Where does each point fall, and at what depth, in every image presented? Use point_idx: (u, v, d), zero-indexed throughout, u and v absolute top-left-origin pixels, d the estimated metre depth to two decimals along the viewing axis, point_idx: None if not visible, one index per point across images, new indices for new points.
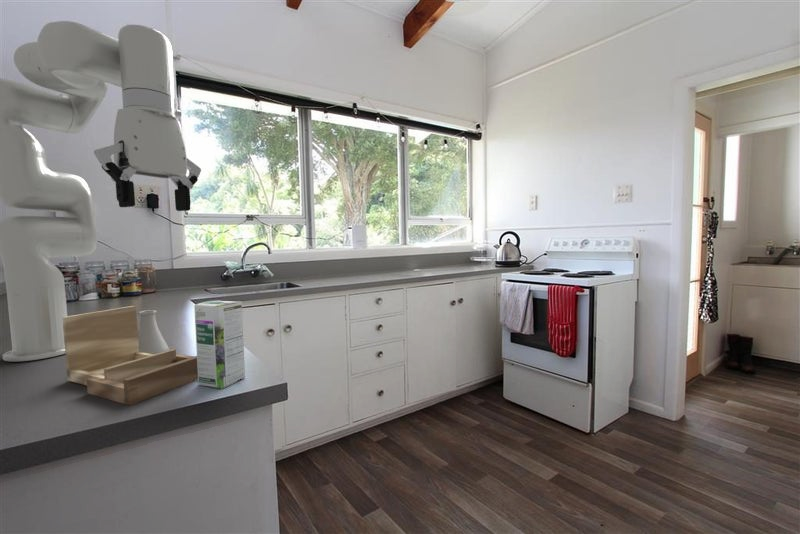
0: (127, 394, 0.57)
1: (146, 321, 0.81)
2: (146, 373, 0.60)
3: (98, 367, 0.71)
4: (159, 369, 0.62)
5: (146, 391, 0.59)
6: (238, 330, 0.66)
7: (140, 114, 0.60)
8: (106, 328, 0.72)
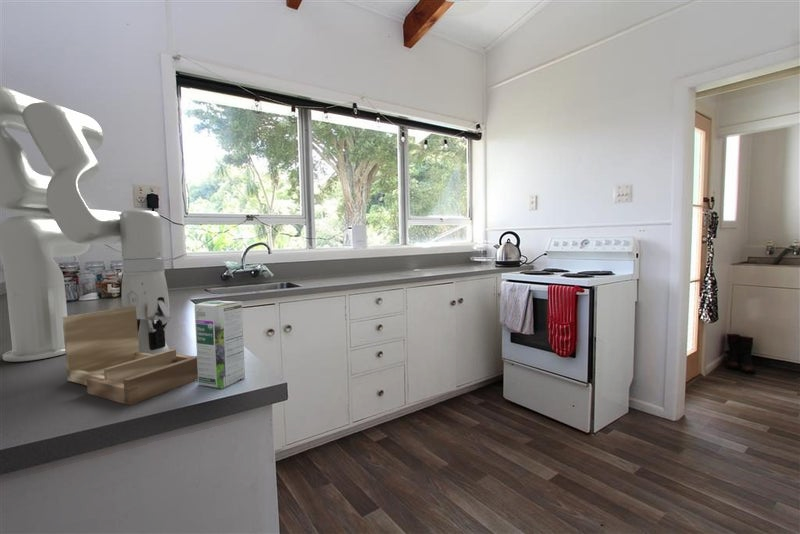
0: (127, 394, 0.57)
1: (146, 320, 0.81)
2: (146, 373, 0.60)
3: (98, 367, 0.71)
4: (159, 369, 0.62)
5: (146, 391, 0.59)
6: (238, 330, 0.66)
7: None
8: (106, 328, 0.72)
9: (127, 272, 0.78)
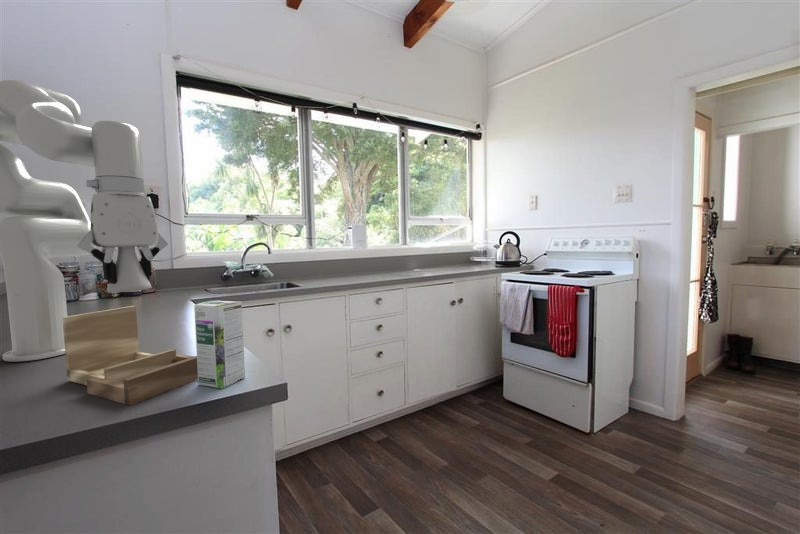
0: (127, 394, 0.57)
1: (133, 250, 0.73)
2: (146, 373, 0.60)
3: (98, 367, 0.71)
4: (159, 369, 0.62)
5: (146, 391, 0.59)
6: (238, 330, 0.66)
7: None
8: (106, 328, 0.72)
9: (131, 192, 0.70)
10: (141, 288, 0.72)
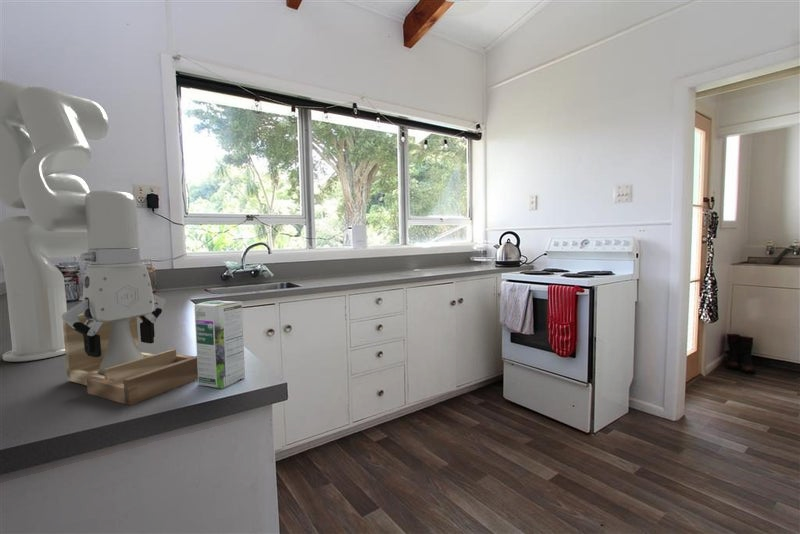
0: (127, 394, 0.57)
1: (128, 327, 0.70)
2: (146, 373, 0.60)
3: (98, 367, 0.71)
4: (159, 369, 0.62)
5: (146, 391, 0.59)
6: (238, 330, 0.66)
7: None
8: (106, 328, 0.72)
9: (130, 263, 0.68)
10: None
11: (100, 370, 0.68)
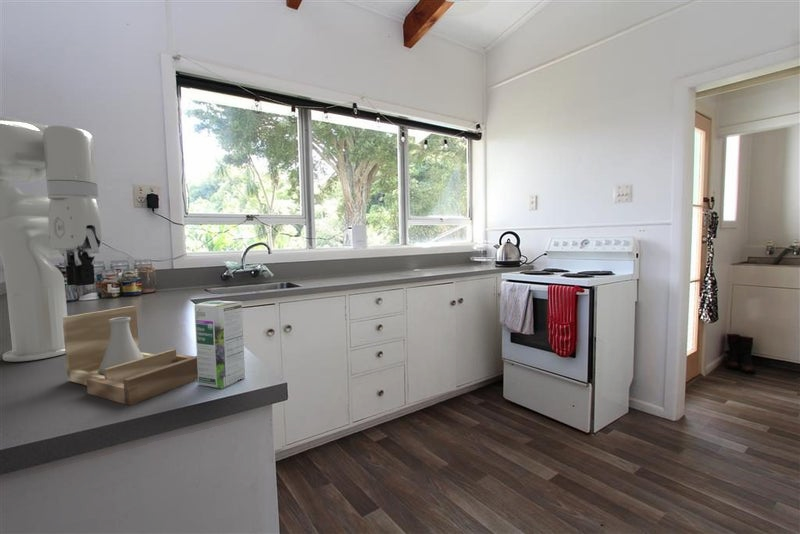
0: (127, 394, 0.57)
1: (128, 327, 0.70)
2: (146, 373, 0.60)
3: (98, 367, 0.71)
4: (159, 369, 0.62)
5: (146, 391, 0.59)
6: (238, 330, 0.66)
7: None
8: (106, 328, 0.72)
9: (51, 195, 0.70)
10: None
11: (100, 370, 0.68)
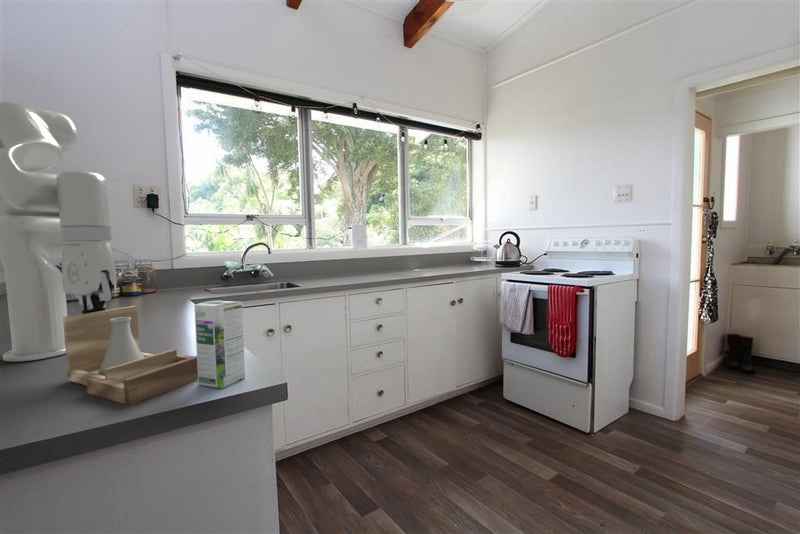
0: (127, 394, 0.57)
1: (129, 327, 0.70)
2: (146, 373, 0.60)
3: (99, 367, 0.71)
4: (159, 369, 0.62)
5: (146, 391, 0.59)
6: (238, 330, 0.66)
7: None
8: (107, 328, 0.72)
9: (65, 241, 0.69)
10: None
11: (101, 370, 0.68)
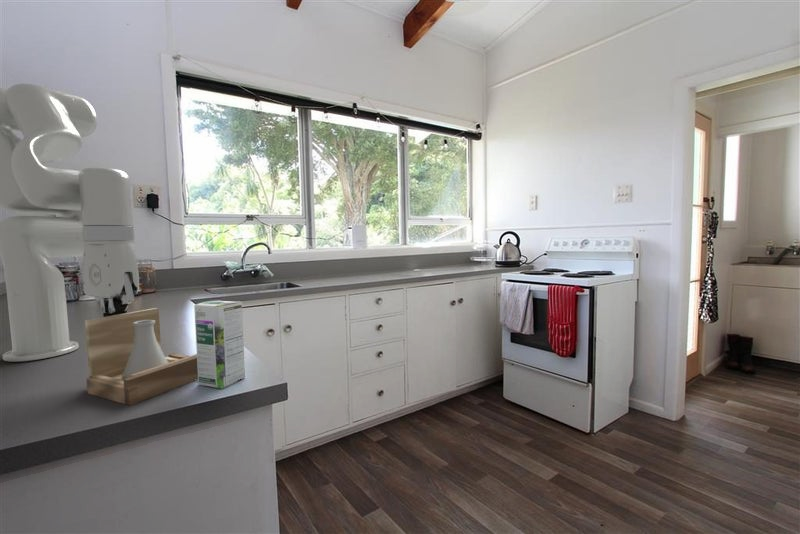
0: (127, 394, 0.57)
1: (152, 331, 0.67)
2: (146, 373, 0.60)
3: (121, 372, 0.68)
4: (159, 369, 0.62)
5: (146, 391, 0.59)
6: (238, 330, 0.66)
7: None
8: (129, 331, 0.69)
9: (87, 241, 0.66)
10: None
11: (124, 376, 0.65)
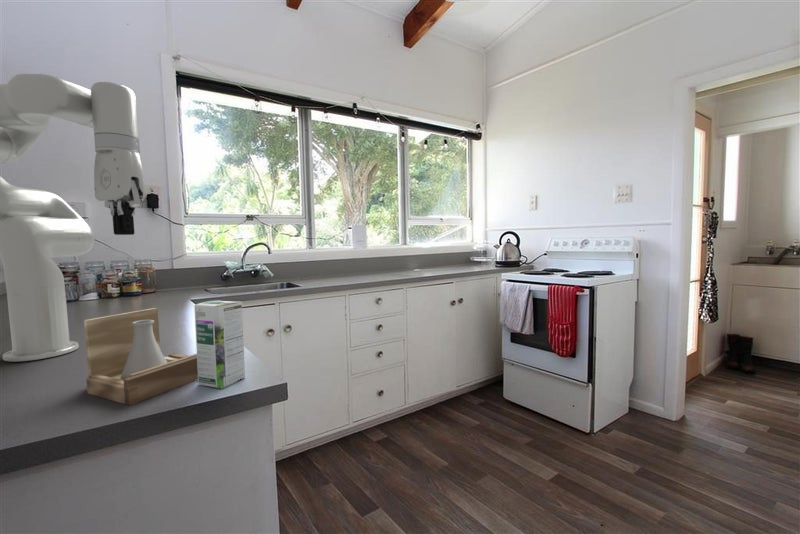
0: (127, 394, 0.57)
1: (151, 331, 0.67)
2: (146, 373, 0.60)
3: (120, 372, 0.68)
4: (159, 369, 0.62)
5: (146, 391, 0.59)
6: (238, 330, 0.66)
7: None
8: (128, 331, 0.69)
9: (99, 147, 0.74)
10: None
11: (123, 375, 0.65)
